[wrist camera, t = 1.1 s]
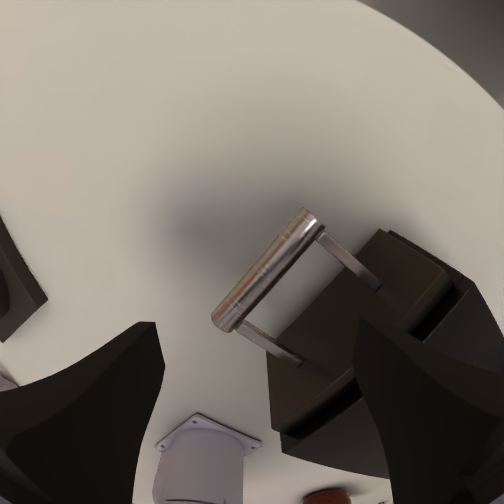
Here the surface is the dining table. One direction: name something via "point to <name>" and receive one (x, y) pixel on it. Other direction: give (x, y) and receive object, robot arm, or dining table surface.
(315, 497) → the mug
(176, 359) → the dining table surface
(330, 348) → the dark drawer with handle
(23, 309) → the block
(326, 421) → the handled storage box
